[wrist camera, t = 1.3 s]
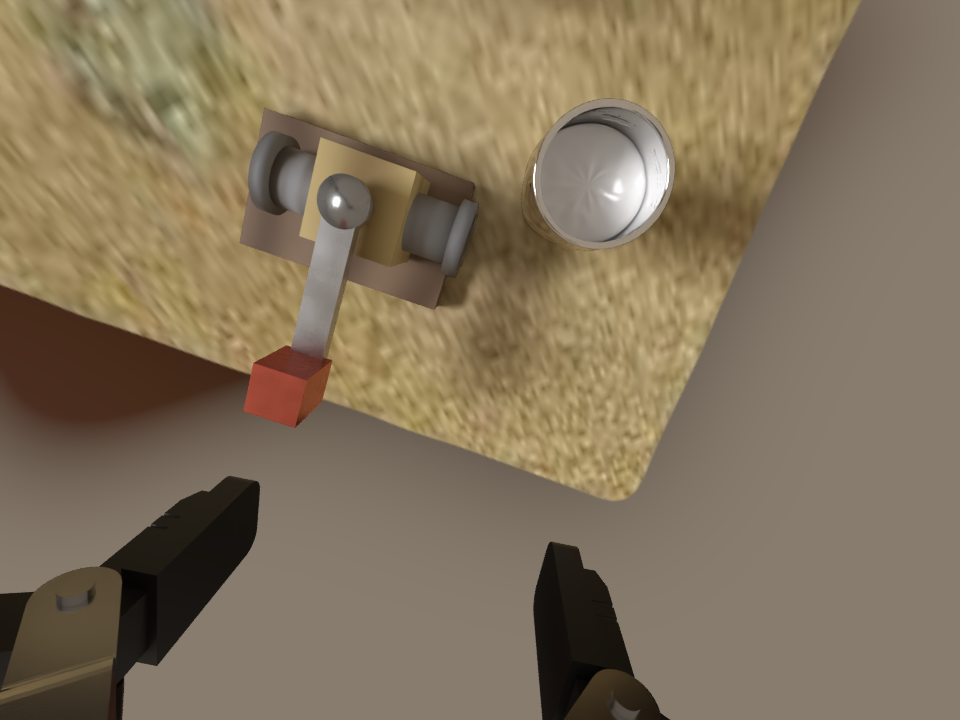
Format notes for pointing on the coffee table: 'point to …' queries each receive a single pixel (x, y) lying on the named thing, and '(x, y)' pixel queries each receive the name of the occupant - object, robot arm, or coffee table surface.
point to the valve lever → (314, 309)
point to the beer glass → (599, 176)
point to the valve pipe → (393, 227)
